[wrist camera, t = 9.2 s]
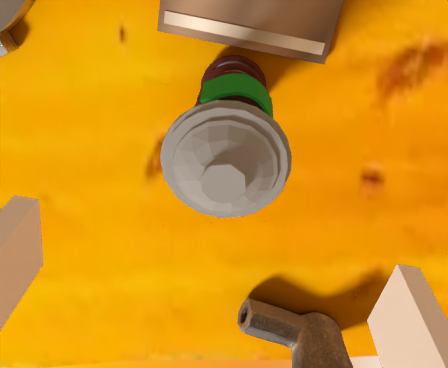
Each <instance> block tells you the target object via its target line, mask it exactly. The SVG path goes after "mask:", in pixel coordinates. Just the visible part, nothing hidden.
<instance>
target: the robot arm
mask: <svg viewBox="0 0 448 368" xmlns="http://www.w3.org/2000/svg"><path fill="white" fill-rule="evenodd" d="M42 266H43V253H42V237H41V222H40V206H39V200H38V199H32V198H27V197H21V196H16V195H14V197H13V198H12V199H11V200H10V201H9V202H8V203H7V204H6V205H5V206H4V207H3V208H2V209H1V210H0V331H1V329H2V328H3V326H4V324H5V323H6V321H7V320H8V318H9V317H10V315H11V314H12V312H13V311H14V309H15V307H16V306H17V304H18V303H19V301H20V300H21V298H22V297H23V295H24V294H25V292H26V290H27V289H28V287H29V286H30V284H31V283H32V281H33V280H34V278H35V277H36V275H37V273H38V272H39V270H40V269H41V267H42ZM367 322H368V325H369V328H370V331H371V334H372V338H373V341H374V344H375V347H376V350H377V353H378V356H379V360H380V362H381V366H382V368H448V320H447V318H446V317H445V315H444V313H443V311H442V309H441V307H440V305H439V303H438V302H437V300H436V298H435V296H434V294H433V292H432V290H431V288H430V287H429V285H428V283H427V281H426V279H425V277H424V275H423V273H422V272H421V270H420V268H417V267H412V266H406V265H400V264H397V265H396V267H395V269H394V271H393V273H392V275H391V276H390V278H389V280H388V282H387V284H386V286H385V288H384V290H383V291H382V293H381V295H380V297H379V299H378V301H377V303H376V304H375V306H374V308H373V310H372V312H371V314H370V316H369V317H368V319H367Z"/></svg>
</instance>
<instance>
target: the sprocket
mask: <svg viewBox="0 0 448 368" xmlns="http://www.w3.org/2000/svg"><path fill="white" fill-rule="evenodd" d="M33 2H34V0H0V57H2V56H4V55H6V54H8V53H10V52H12V51H14V50H16V49H18V48H19V47H18V46H17V44H16V43H15V41H14V40H13V38H12V36H11V35H10V33H9V32H8V30H10V29H11V28H13V27H14V26H15V25H16V24H17V23H18V22H19V21H20V20H21V19H22V18H23V17H24V16H25V14H26V13H27V12H28V11H29V9H30V8H31V6H32V4H33Z"/></svg>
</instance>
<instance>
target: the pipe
mask: <svg viewBox="0 0 448 368" xmlns="http://www.w3.org/2000/svg"><path fill="white" fill-rule="evenodd" d="M238 325H239V328H240V330H241V331H242V332H244V333H245V334H248V335H251V336H254V337H257V338H261V339H264V340H268V341H271V342H275V343H278V344H281V345H284V346H287V347H289V348H291V352H292V368H353V366H352V363H351V361H350V359H349V356H348V353H347V351H346V347H345V344H344V341H343V337H342V333H341V330H340V328H339V326H338V324H337V323H336V322H335V321H334V320H333V319H331V318H330V317H328V316H326V315H324V314H321V313H316V312H312V313H308V314H304V315H298V314H295V313H293V312H291V311H288V310H285V309H282V308H279V307H276V306H273V305H270V304H267V303H264V302H260V301H257V300H254V299H250V298H246V300H245V301H244V303H243V304H242V306H241V308H240V310H239V313H238Z"/></svg>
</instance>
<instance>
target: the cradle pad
mask: <svg viewBox="0 0 448 368" xmlns="http://www.w3.org/2000/svg"><path fill="white" fill-rule="evenodd" d="M343 2H344V0H160V9H159V20H158V30H157V31H161V32H166V33H171V34H176V35H181V36H186V37H190V38H195V39H200V40H205V41H210V42H215V43H220V44H225V45H230V46H235V47H240V48H245V49H250V50H255V51H260V52H265V53H270V54H275V55H280V56H285V57H290V58H295V59H300V60H305V61H309V62H314V63H319V64H325V61H326V57H327V54H328V51H329V48H330V44H331V41H332V38H333V35H334V31H335V28H336V25H337V22H338V18H339V15H340V12H341V9H342V5H343Z"/></svg>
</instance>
